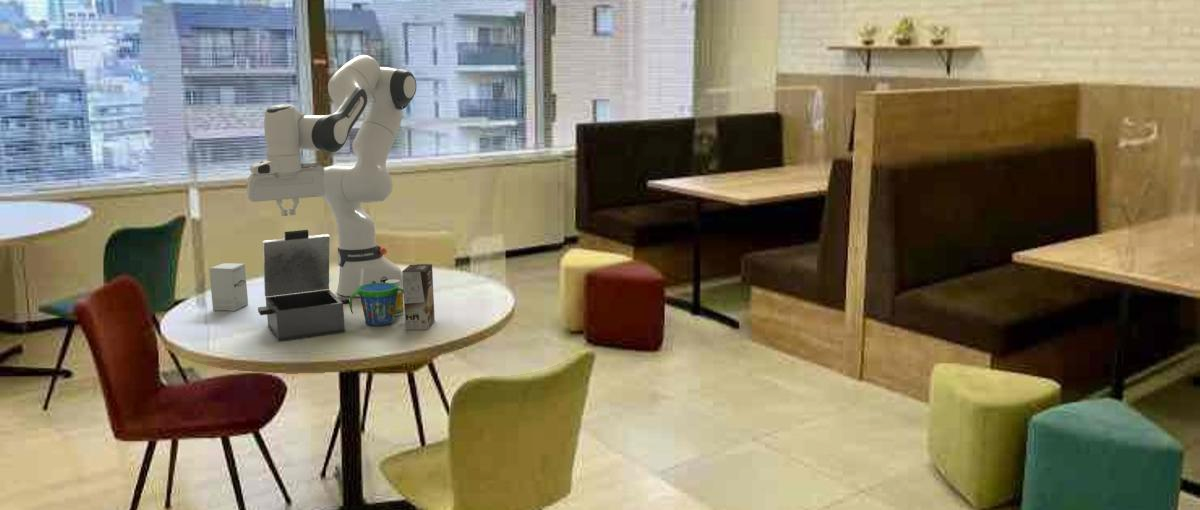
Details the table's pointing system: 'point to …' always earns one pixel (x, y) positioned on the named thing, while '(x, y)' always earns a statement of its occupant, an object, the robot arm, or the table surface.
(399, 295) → the supplement bottle
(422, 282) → the coffee box
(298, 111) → the robot arm
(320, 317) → the cooker pot
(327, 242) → the lid
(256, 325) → the table surface
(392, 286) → the snack cup
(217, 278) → the supplement box
